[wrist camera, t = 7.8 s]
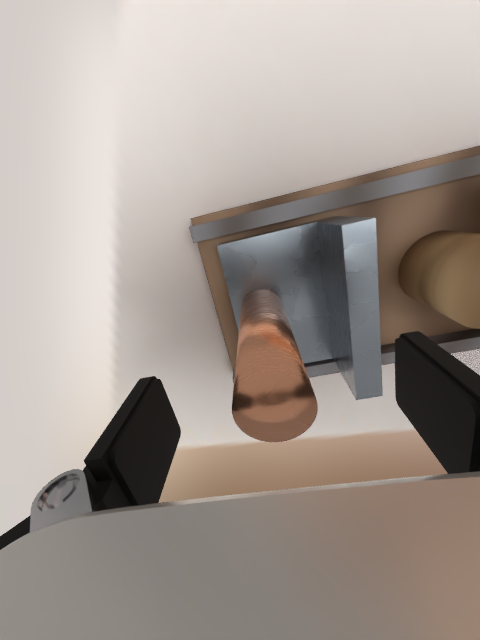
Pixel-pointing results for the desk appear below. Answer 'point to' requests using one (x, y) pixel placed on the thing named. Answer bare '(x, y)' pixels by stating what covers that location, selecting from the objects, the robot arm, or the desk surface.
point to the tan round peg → (445, 274)
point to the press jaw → (302, 319)
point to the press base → (391, 230)
